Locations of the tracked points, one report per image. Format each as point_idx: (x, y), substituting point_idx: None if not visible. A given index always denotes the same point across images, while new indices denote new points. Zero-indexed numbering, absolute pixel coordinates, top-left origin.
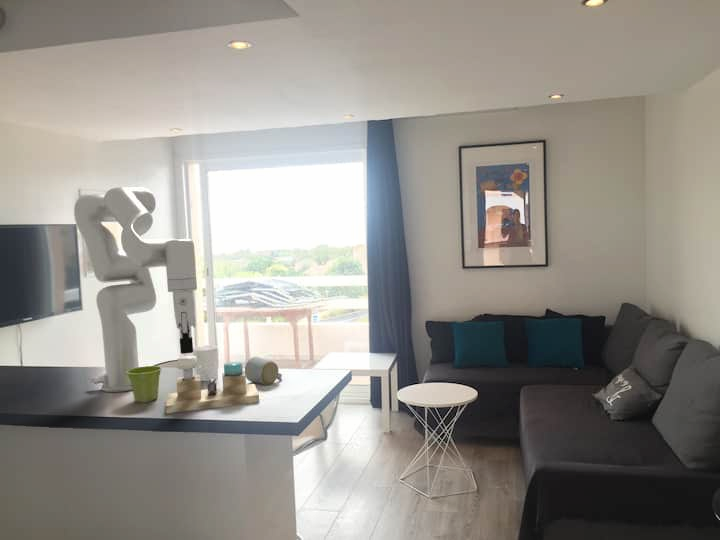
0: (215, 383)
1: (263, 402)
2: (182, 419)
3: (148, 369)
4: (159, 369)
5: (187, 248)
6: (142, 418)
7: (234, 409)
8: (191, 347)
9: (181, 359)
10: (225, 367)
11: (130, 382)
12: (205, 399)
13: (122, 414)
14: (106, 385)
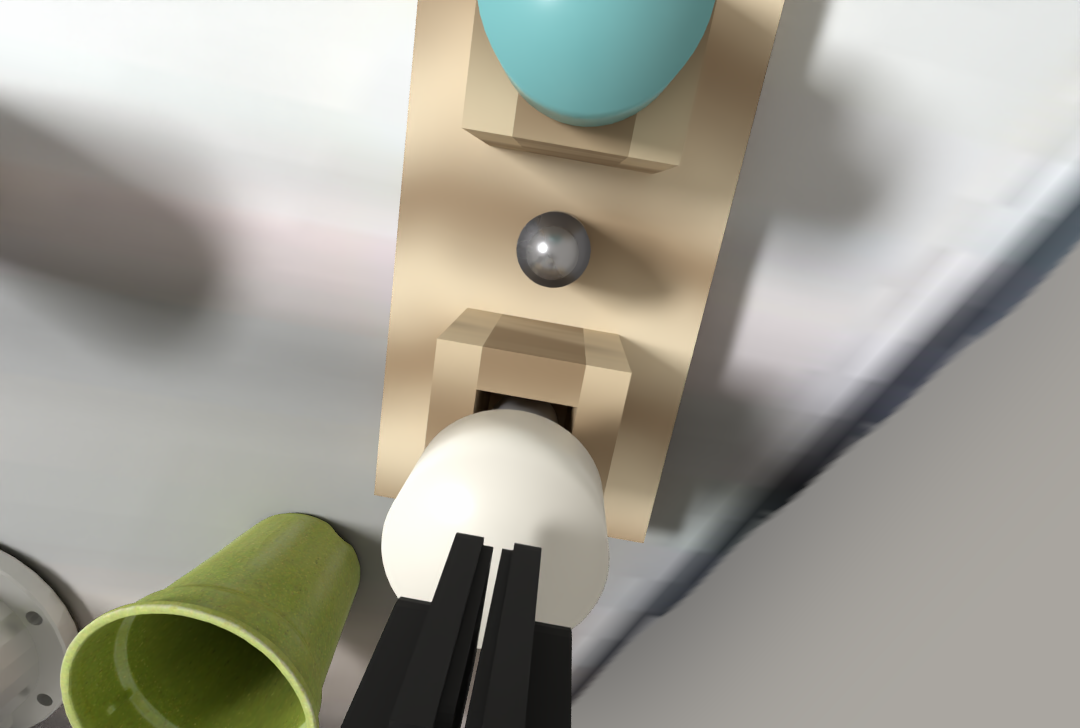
0: (569, 221)
1: None
2: (805, 462)
3: (93, 658)
4: (235, 632)
5: None
6: (646, 618)
7: (833, 147)
8: (533, 609)
9: (548, 622)
10: (635, 106)
11: (2, 632)
12: (658, 313)
13: None
14: (3, 724)
